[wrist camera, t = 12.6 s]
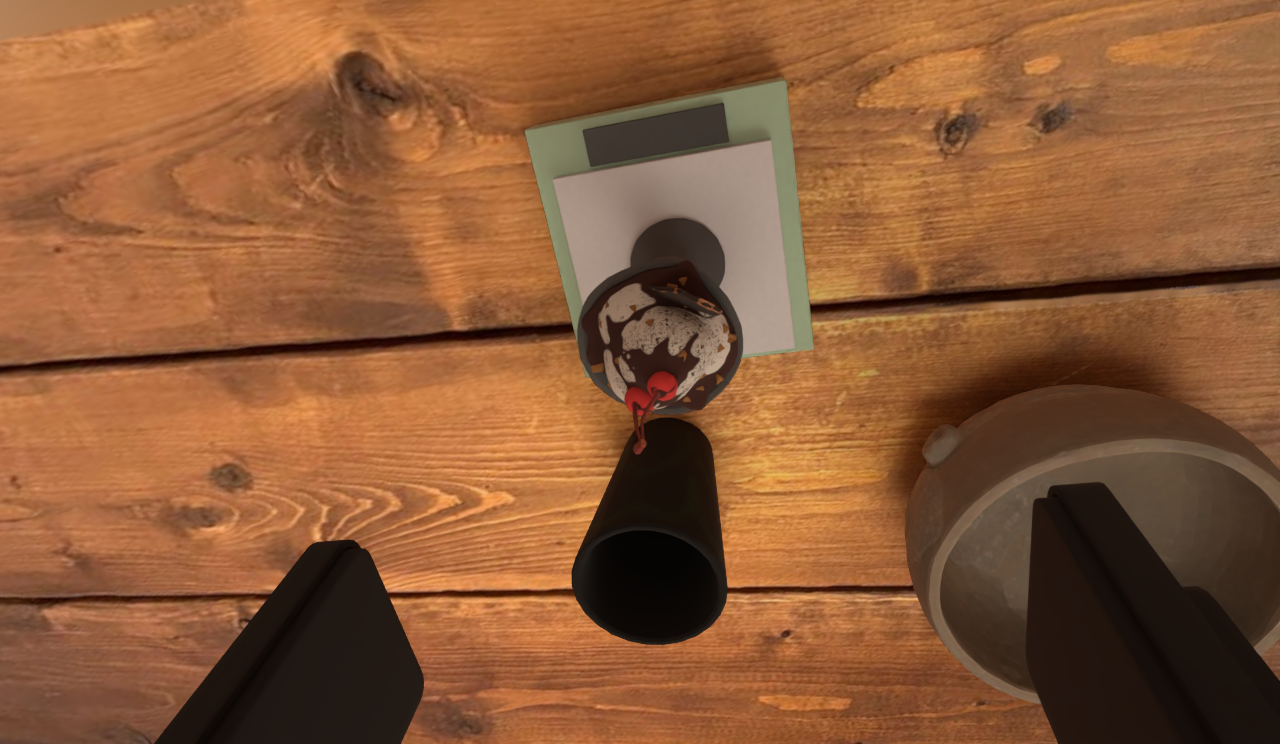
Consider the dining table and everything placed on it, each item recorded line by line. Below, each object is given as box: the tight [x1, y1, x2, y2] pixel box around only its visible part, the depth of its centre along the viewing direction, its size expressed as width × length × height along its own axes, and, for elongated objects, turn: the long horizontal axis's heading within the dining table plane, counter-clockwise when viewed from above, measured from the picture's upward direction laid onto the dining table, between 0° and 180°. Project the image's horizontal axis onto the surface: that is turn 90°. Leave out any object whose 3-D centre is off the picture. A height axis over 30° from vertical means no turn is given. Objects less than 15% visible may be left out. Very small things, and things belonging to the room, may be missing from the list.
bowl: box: [905, 384, 1280, 704], centre depth 40 cm, size 17×18×10 cm
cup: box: [572, 418, 728, 645], centre depth 41 cm, size 8×8×12 cm
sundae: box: [577, 218, 743, 454], centre depth 32 cm, size 7×7×15 cm
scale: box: [525, 76, 814, 378], centre depth 39 cm, size 14×13×3 cm
